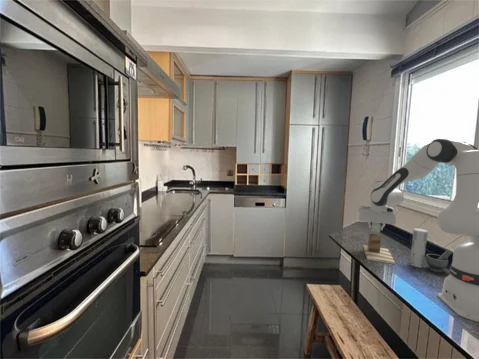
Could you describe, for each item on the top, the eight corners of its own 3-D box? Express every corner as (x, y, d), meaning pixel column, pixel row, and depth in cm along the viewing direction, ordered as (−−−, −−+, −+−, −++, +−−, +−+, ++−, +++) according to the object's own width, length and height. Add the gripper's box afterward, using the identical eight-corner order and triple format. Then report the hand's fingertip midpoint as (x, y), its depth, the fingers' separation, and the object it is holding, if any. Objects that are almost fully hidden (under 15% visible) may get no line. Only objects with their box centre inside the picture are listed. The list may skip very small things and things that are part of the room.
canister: (380, 233, 158) (381, 224, 157) (371, 232, 159) (372, 223, 159) (379, 231, 162) (379, 222, 161) (370, 230, 164) (371, 221, 163)
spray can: (423, 268, 140) (428, 232, 138) (409, 265, 144) (413, 230, 142) (423, 264, 146) (427, 229, 144) (409, 261, 149) (413, 227, 147)
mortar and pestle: (427, 271, 137) (430, 249, 136) (421, 264, 146) (424, 243, 145) (453, 275, 133) (456, 253, 132) (446, 268, 142) (448, 247, 141)
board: (394, 264, 145) (395, 262, 145) (366, 259, 150) (367, 257, 149) (387, 250, 165) (387, 249, 165) (363, 247, 170) (363, 245, 170)
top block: (380, 244, 158) (381, 236, 158) (371, 243, 159) (372, 235, 158) (376, 241, 163) (377, 233, 163) (368, 240, 164) (369, 233, 163)
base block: (379, 252, 158) (380, 244, 157) (368, 251, 160) (369, 243, 159) (378, 249, 163) (379, 241, 163) (367, 247, 166) (368, 240, 165)
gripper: (359, 206, 160) (357, 228, 161) (397, 210, 153) (395, 233, 154) (358, 204, 166) (356, 225, 167) (395, 208, 158) (393, 230, 160)
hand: (375, 229), depth 160 cm, fingers closed on canister, 5 cm apart
